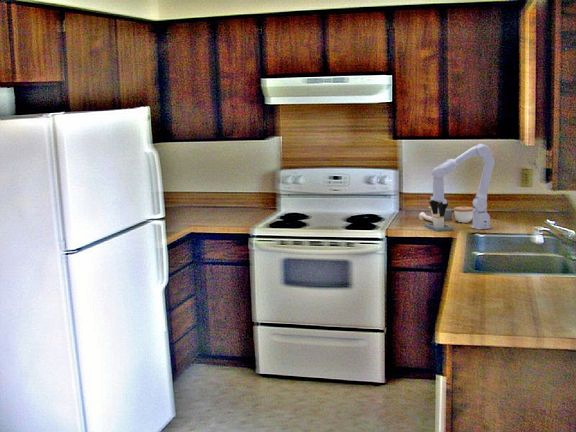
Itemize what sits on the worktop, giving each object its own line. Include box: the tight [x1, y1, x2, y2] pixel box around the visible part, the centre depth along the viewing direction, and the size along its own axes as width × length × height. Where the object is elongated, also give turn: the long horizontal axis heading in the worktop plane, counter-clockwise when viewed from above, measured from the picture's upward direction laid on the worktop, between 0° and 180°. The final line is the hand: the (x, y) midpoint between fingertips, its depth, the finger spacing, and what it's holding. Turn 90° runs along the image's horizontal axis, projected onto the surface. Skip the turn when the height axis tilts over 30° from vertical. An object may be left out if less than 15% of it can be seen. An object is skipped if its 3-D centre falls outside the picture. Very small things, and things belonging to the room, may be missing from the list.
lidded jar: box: [453, 204, 474, 224], centre depth 415 cm, size 11×11×9 cm
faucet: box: [418, 206, 433, 223], centre depth 421 cm, size 4×18×10 cm, turn 19°
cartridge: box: [432, 214, 445, 228], centre depth 400 cm, size 4×4×7 cm
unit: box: [437, 208, 454, 222], centre depth 422 cm, size 6×9×6 cm, turn 107°
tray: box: [423, 222, 454, 232], centre depth 400 cm, size 15×9×2 cm, turn 17°
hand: (438, 215), depth 399 cm, fingers open, 7 cm apart
